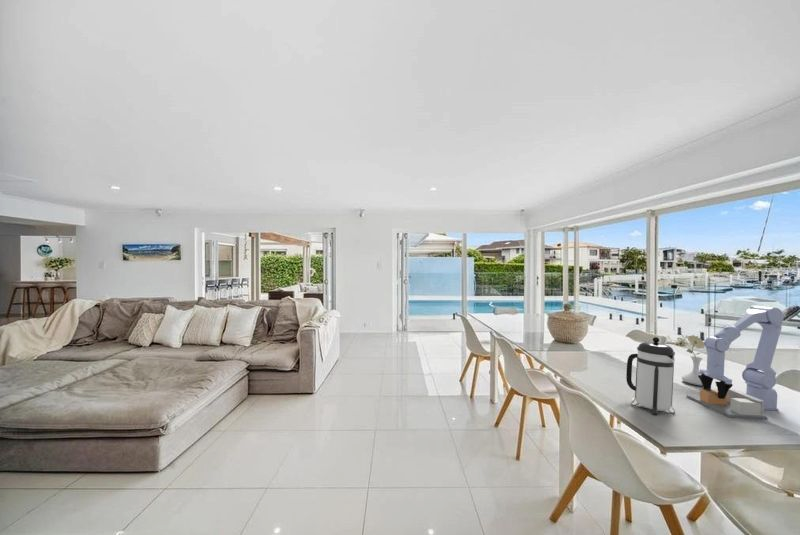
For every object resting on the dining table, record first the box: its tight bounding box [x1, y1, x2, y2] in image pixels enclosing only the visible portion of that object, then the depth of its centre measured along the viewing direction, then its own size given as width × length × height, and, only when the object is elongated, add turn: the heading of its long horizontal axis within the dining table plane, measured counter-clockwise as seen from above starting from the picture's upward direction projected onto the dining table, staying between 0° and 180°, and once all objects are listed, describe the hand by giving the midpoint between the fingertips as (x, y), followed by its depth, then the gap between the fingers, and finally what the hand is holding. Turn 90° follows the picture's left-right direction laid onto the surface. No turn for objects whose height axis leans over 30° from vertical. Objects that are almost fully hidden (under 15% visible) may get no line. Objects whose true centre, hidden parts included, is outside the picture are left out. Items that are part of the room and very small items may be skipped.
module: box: [699, 388, 728, 405], centre depth 157 cm, size 8×4×5 cm, turn 88°
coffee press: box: [625, 336, 676, 416], centre depth 149 cm, size 17×16×30 cm
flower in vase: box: [681, 334, 705, 386], centre depth 188 cm, size 13×11×25 cm
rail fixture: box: [686, 384, 768, 420], centre depth 154 cm, size 15×22×7 cm
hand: (714, 395), depth 157 cm, fingers open, 7 cm apart
